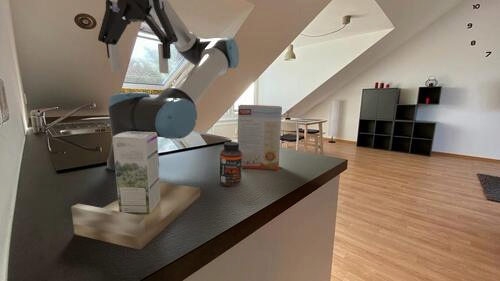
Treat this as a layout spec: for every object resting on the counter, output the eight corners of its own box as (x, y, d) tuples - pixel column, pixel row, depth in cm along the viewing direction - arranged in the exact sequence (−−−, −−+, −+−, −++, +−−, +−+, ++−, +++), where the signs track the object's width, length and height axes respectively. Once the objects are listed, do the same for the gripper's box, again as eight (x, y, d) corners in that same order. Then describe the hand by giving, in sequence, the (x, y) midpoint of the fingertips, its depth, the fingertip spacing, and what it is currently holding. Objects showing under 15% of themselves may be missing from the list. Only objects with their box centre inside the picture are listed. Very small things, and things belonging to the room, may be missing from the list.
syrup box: (161, 200, 46) (158, 131, 44) (149, 215, 41) (145, 136, 38) (133, 199, 46) (128, 130, 43) (117, 214, 40) (110, 135, 38)
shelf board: (74, 234, 38) (71, 206, 37) (153, 188, 57) (152, 169, 56) (140, 249, 35) (138, 220, 34) (200, 195, 54) (200, 176, 53)
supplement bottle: (224, 188, 58) (224, 146, 56) (216, 180, 63) (216, 141, 61) (244, 185, 61) (246, 144, 59) (235, 177, 66) (236, 140, 64)
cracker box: (278, 165, 80) (281, 105, 76) (278, 170, 74) (282, 106, 70) (239, 162, 81) (240, 104, 77) (236, 168, 75) (238, 104, 71)
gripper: (72, -28, 51) (84, 70, 55) (172, -37, 46) (177, 72, 50) (100, -13, 58) (109, 73, 62) (190, -20, 53) (192, 74, 58)
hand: (139, 72), depth 56 cm, fingers open, 13 cm apart
